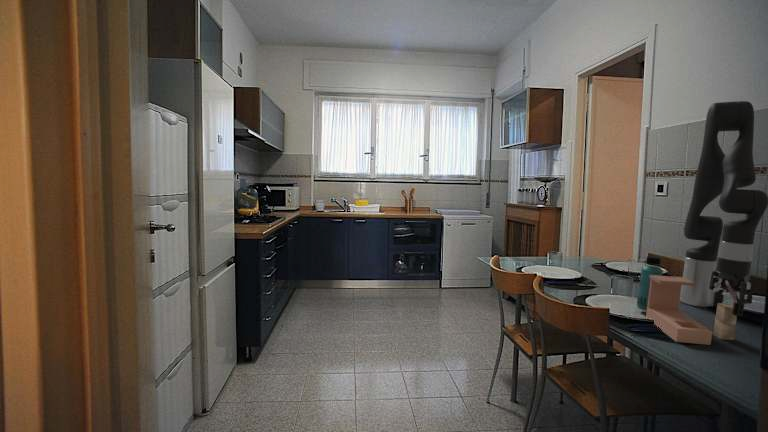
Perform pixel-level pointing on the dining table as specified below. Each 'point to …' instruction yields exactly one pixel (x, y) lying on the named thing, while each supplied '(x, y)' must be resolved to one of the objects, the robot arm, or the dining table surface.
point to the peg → (724, 322)
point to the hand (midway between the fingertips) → (726, 310)
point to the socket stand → (673, 311)
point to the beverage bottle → (647, 281)
